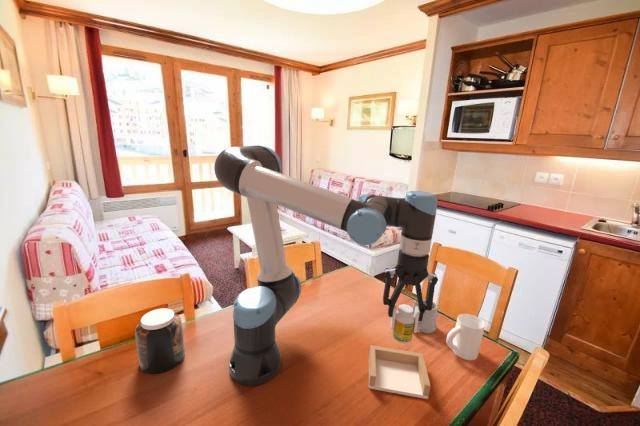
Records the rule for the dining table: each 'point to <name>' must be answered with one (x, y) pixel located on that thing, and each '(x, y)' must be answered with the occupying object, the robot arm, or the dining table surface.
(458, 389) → the dining table surface
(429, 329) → the mug
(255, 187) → the robot arm
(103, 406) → the dining table surface
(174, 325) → the jar
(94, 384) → the dining table surface
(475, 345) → the mug
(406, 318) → the supplement bottle
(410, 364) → the u rest
